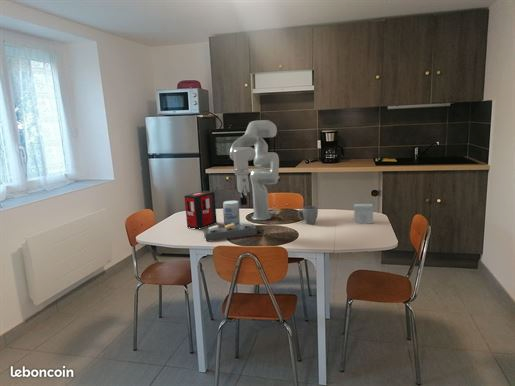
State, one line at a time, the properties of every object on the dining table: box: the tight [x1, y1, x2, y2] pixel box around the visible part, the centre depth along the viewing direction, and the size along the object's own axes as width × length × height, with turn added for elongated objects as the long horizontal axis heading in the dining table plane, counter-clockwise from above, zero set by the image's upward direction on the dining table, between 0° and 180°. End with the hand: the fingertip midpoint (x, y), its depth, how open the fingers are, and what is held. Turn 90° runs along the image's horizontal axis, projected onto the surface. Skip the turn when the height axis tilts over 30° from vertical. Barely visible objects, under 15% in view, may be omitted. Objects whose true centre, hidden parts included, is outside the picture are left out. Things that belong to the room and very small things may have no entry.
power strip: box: [203, 223, 265, 242], centre depth 213 cm, size 33×8×5 cm, turn 105°
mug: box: [297, 205, 319, 226], centre depth 229 cm, size 12×9×10 cm
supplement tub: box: [222, 200, 241, 227], centre depth 232 cm, size 10×10×15 cm
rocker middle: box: [224, 223, 235, 229], centre depth 212 cm, size 5×4×1 cm
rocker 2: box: [240, 221, 252, 226], centre depth 214 cm, size 5×4×1 cm
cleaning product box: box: [184, 190, 218, 230], centre depth 236 cm, size 16×9×20 cm, turn 143°
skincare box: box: [353, 203, 374, 225], centre depth 225 cm, size 10×6×10 cm, turn 76°
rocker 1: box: [207, 224, 220, 231], centre depth 210 cm, size 5×4×1 cm
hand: (243, 204), depth 212 cm, fingers closed
